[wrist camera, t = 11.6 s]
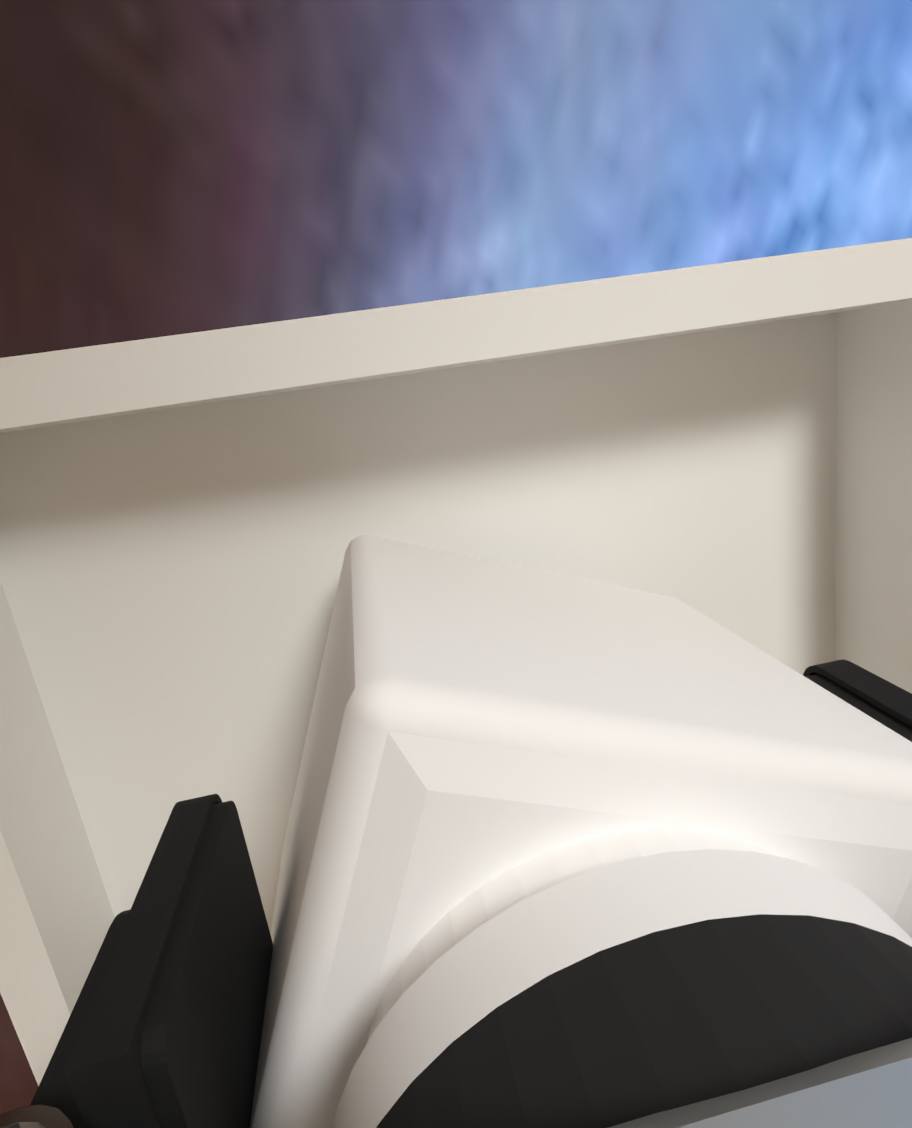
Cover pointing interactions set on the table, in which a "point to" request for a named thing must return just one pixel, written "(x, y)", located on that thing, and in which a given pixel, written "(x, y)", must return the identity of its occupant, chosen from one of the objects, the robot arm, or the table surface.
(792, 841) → the medicine bottle
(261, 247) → the table surface
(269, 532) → the tray
